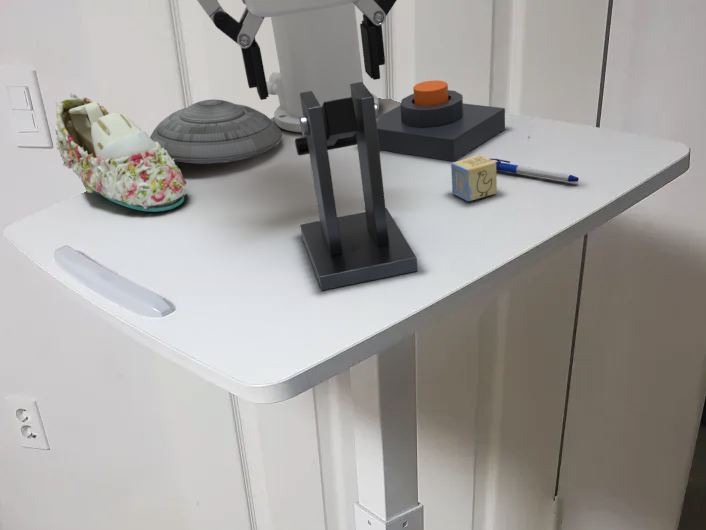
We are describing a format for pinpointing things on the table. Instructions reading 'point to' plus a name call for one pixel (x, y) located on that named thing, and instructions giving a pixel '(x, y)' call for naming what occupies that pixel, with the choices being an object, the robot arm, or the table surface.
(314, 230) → the bracket
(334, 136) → the lever
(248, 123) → the flying saucer
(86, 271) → the table surface
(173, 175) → the ballet flat
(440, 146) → the control block
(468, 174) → the alphabet block
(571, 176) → the ballpoint pen
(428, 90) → the button
